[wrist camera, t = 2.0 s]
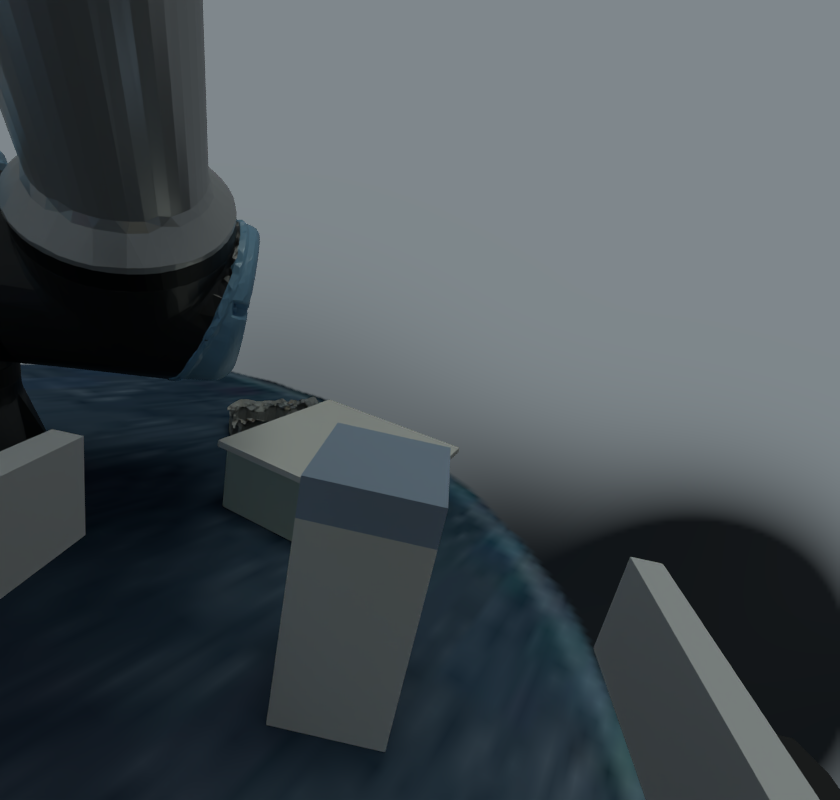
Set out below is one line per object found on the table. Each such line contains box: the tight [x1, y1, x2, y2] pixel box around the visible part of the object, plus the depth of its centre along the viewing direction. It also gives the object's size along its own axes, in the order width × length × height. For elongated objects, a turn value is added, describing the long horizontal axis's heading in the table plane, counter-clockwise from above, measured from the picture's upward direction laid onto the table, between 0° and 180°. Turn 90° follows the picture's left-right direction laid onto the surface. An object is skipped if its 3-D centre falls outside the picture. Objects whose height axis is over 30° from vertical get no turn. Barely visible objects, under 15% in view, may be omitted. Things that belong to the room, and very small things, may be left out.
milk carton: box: [266, 423, 451, 752], centre depth 24 cm, size 6×6×14 cm
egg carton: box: [227, 397, 319, 435], centre depth 52 cm, size 11×8×4 cm
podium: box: [218, 400, 459, 541], centre depth 42 cm, size 15×15×6 cm
